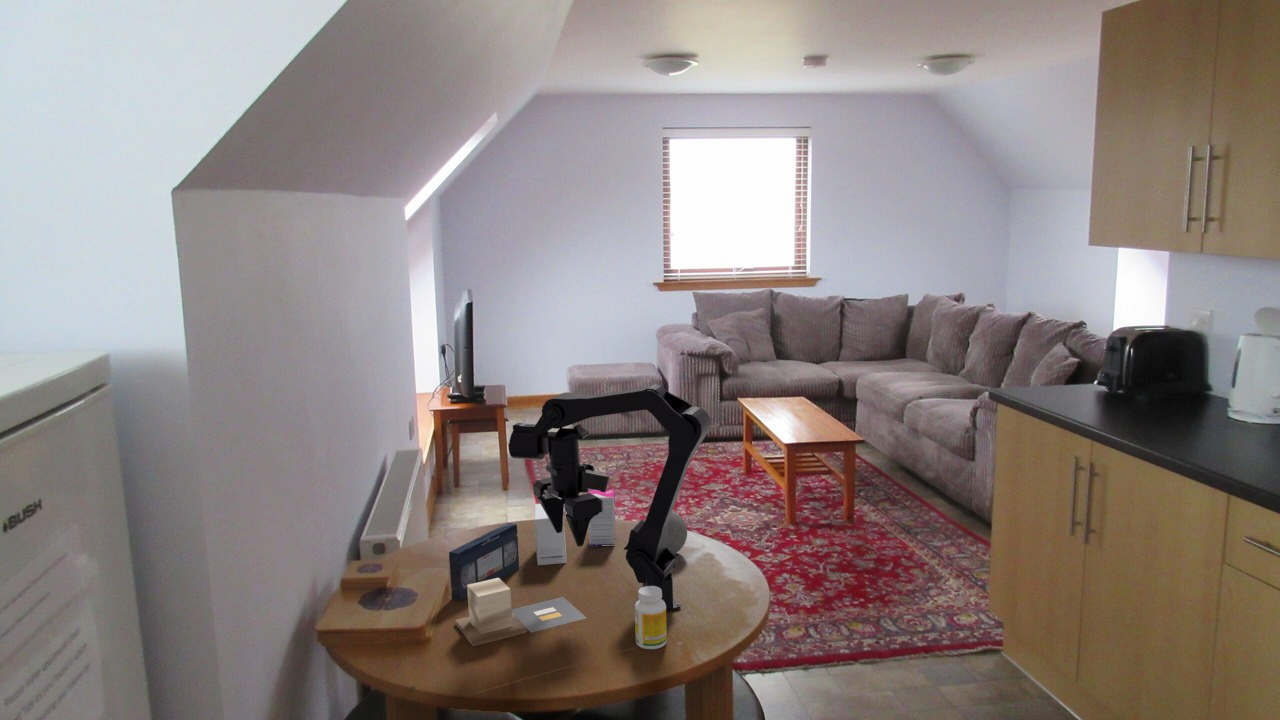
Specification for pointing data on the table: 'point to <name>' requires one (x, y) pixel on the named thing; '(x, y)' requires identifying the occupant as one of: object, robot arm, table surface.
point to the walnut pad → (479, 639)
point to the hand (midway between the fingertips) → (569, 539)
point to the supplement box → (603, 520)
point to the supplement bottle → (650, 618)
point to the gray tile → (547, 614)
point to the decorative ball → (676, 533)
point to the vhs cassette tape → (484, 559)
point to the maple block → (489, 605)
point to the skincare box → (548, 539)
